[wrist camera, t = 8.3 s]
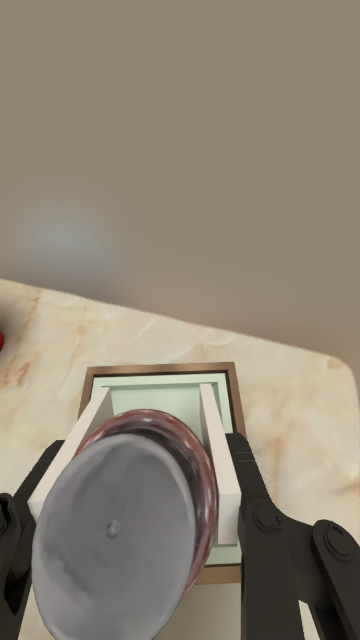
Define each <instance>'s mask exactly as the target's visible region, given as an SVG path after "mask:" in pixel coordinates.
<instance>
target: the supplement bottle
mask: <svg viewBox="0 0 360 640" xmlns="http://www.w3.org/2000/svg"><path fill="white" fill-rule="evenodd" d="M217 510H218V499H217V486H216V480H215V475H214V472H213V468H212V465H211V461H210V459H209V457H208V455H207V453H206V451H205V449H204V447H203V445H202V443H201V442H200V440H199V438H198V437H197V436H196V434H195V433H194V432H193V431H192V430H191V429H190V428H189V427H188V426H187V425H186V424H185V423H184V422H182V421H181V420H180V419H178V418H176V417H175V416H173V415H171V414H169V413H166V412H163V411H160V410H154V409H136V410H129V411H126V412H123V413H120V414H117V415H115V416H113V417H112V418H110V419H108V420H106V421H105V422H103V423H102V424H101V425H99V426H98V427H97V428H96V429H95V430H93V431H92V432H91V433H90V434H89V435H88V437H87V438H86V439H85V440H84V441H83V442H82V444H81V445H80V446H79V448H78V449H77V451H76V452H75V454H74V455H73V457H72V459H71V460H70V462H69V463H68V465H67V466H66V467H65V468H64V469H63V471H62V472H61V474H60V475H59V476H58V477H57V479H56V481H55V483H54V484H53V486H52V488H51V489H50V491H49V492H48V494H47V497H46V499H45V501H44V504H43V507H42V510H41V513H40V515H39V518H38V522H37V525H36V529H35V533H34V537H33V544H32V560H31V564H32V584H33V590H34V593H35V599H36V603H37V606H38V609H39V612H40V615H41V617H42V619H43V622H44V624H45V626H46V628H47V629H48V630H49V632H50V633H51V635H52V636H53V637H54V638H55V640H152V639H153V638H154V637H155V636H156V635H157V634H158V633H159V631H160V630H161V629H162V628H163V627H164V625H165V624H166V623H167V622H168V620H169V619H170V617H171V615H172V613H173V612H174V610H175V608H176V607H177V605H178V604H179V602H180V601H181V600H182V599H183V598H184V596H185V595H187V593H188V592H189V590H190V589H191V587H192V586H193V585H194V584H195V582H196V581H197V579H198V577H199V576H200V574H201V573H202V570H203V568H204V566H205V564H206V561H207V559H208V557H209V555H210V550H211V548H212V543H213V541H214V538H215V530H216V524H217Z"/></svg>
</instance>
